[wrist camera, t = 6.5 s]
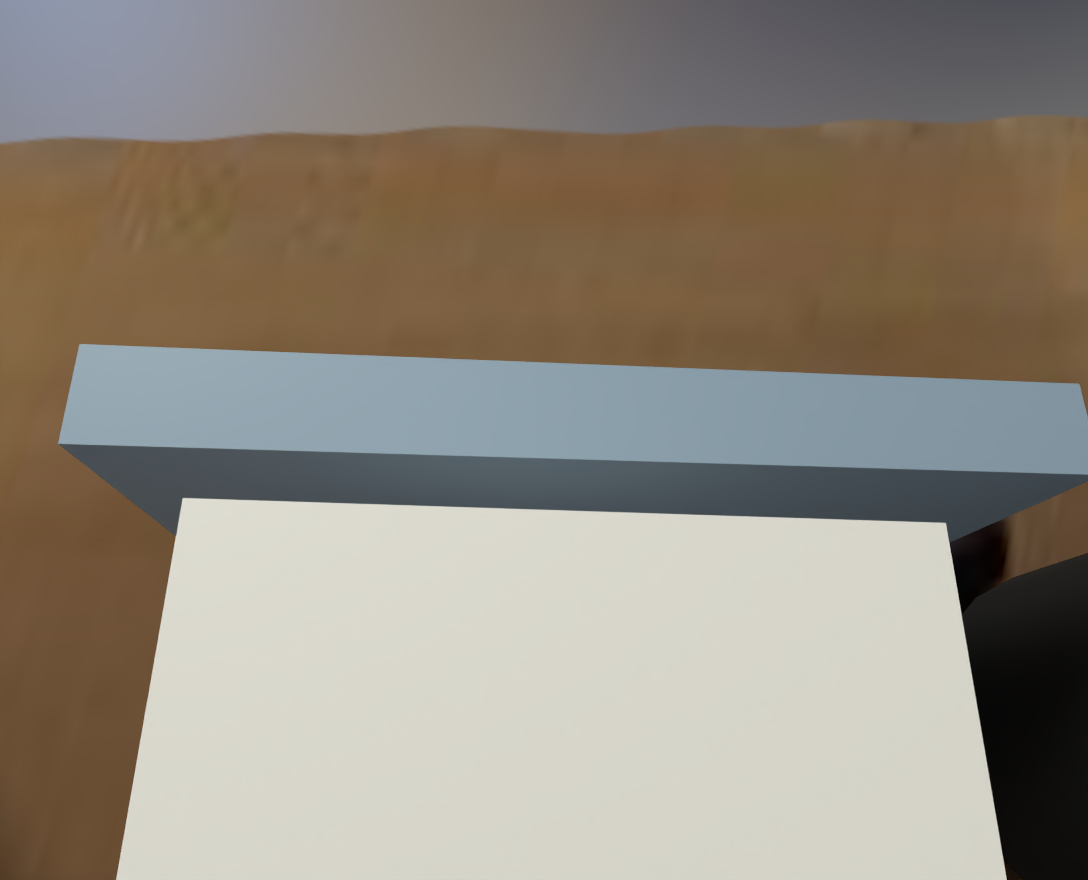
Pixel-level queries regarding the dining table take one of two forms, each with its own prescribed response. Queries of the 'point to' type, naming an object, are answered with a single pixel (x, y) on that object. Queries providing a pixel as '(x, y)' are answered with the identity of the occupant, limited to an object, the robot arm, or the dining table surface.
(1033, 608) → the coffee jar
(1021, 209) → the dining table surface
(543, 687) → the cabinet
